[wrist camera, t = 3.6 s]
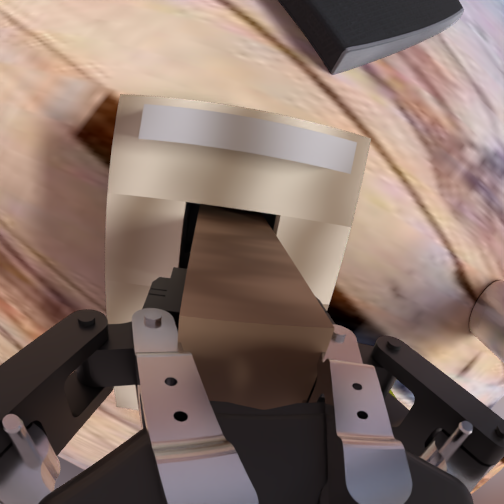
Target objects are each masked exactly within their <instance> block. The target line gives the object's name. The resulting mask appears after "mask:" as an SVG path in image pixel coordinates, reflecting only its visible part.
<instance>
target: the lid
mask: <svg viewBox="0 0 504 504" xmlns="http://www.w3.org/2000/svg"><path fill="white" fill-rule="evenodd" d="M370 141H371V139H370V138H367V137H364V136H361V135H357V134H354V133H351V132H347V131H344V130H340V129H337V128H333V127H329V126H326V125H322V124H318V123H314V122H310V121H306V120H302V119H298V118H293V117H289V116H285V115H280V114H275V113H270V112H265V111H260V110H255V109H250V108H244V107H238V106H232V105H226V104H219V103H212V102H205V101H197V100H189V99H179V98H169V97H158V96H144V95H125V94H120V99H119V104H118V110H117V116H116V122H115V129H114V136H113V143H112V151H111V160H110V169H109V180H108V192H107V207H106V227H105V295H106V316H107V320H108V324H122V323H127V322H131V321H132V315H133V314H134V313H135V312H136V311H138V310H141V309H142V308H143V306H144V303H145V300H146V298H147V295H148V292H149V290H150V287H151V284H152V282H153V281H154V280H156V279H157V278H159V277H165V278H170V277H171V274H172V270H173V267H176V268H179V262H180V252H181V243H182V234H183V225H184V217H185V209H186V202H191V203H198V204H206V205H213V206H221V207H228V208H235V209H242V210H249V211H256V212H262V213H269V214H275V215H276V219H275V224H274V229H273V232H274V233H275V235H276V236H277V238H278V239H279V241H280V242H281V244H282V245H283V247H284V248H285V250H286V252H287V253H288V255H289V256H290V258H291V259H292V261H293V262H294V264H295V266H296V267H297V269H298V270H299V272H300V273H301V275H302V277H303V278H304V280H305V281H306V283H307V284H308V286H309V288H310V289H311V291H312V292H313V294H314V295H315V297H317V298H318V299H319V300H320V301H321V303H322V304H323V306H324V307H325V309H326V311H327V310H328V306H329V303H330V300H331V297H332V294H333V290H334V287H335V284H336V280H337V277H338V274H339V270H340V267H341V263H342V260H343V256H344V252H345V249H346V245H347V241H348V238H349V234H350V230H351V226H352V222H353V218H354V214H355V210H356V206H357V202H358V197H359V193H360V189H361V184H362V180H363V175H364V171H365V166H366V161H367V156H368V151H369V146H370ZM114 393H115V400H116V406H117V407H121V408H126V409H132V410H139V409H138V403H137V396H136V389H135V385H127V386H114Z"/></svg>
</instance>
